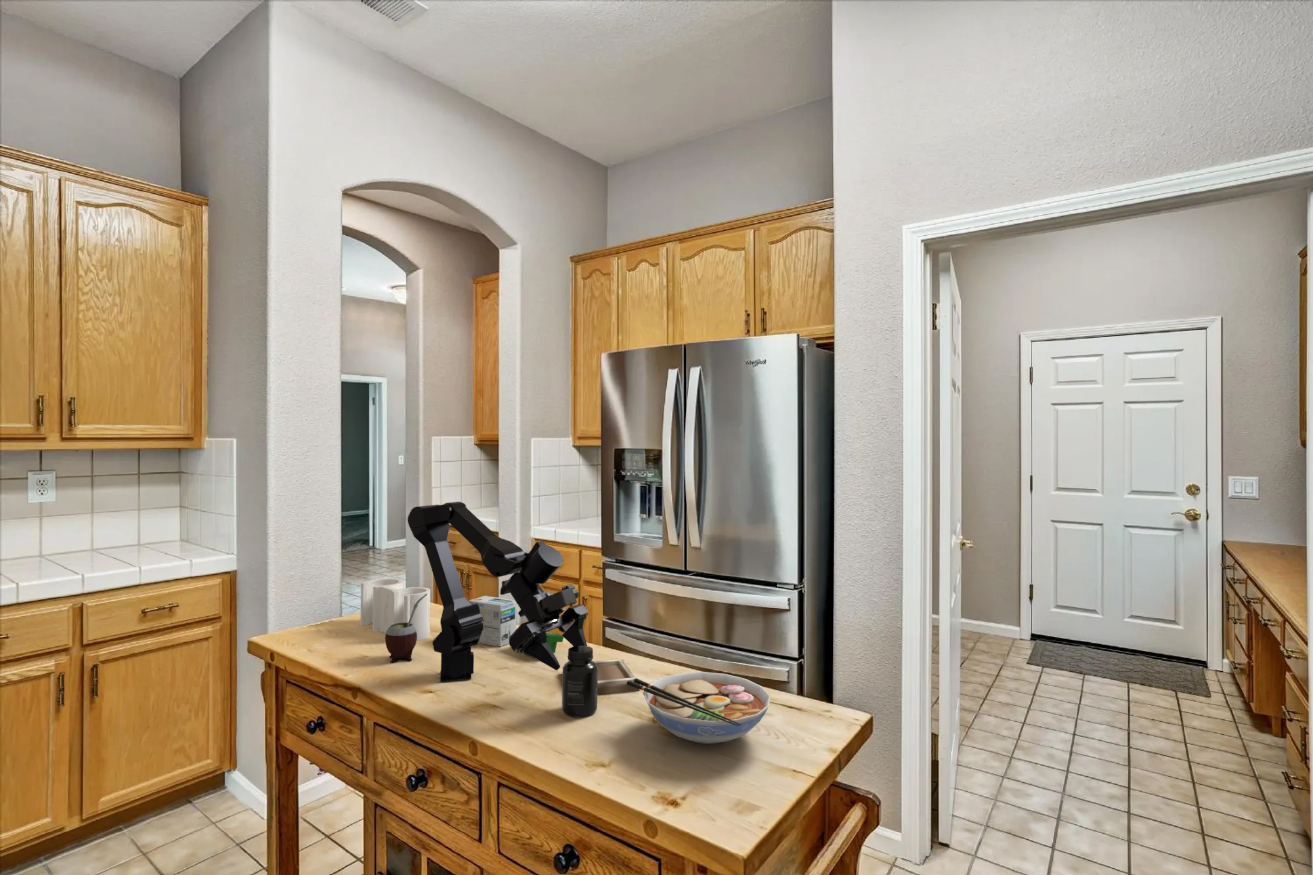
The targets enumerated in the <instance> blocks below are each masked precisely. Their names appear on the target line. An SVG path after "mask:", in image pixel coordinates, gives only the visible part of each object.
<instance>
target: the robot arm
mask: <svg viewBox="0 0 1313 875" xmlns="http://www.w3.org/2000/svg"><path fill="white" fill-rule="evenodd" d="M407 524H408V527H409V529H410V531H411V533H412V535H413V537H414V539H416V540H417V541H418V542H419V544H421V545H423V547H424V549H425V553H426V556H427V558H428V563H429V565H430V568H431V571H432V575H433V578H434V581H435V584H436V588H437V590H438V591H437V592H438V594H439V597H440V600H441V605H442V613H441V617H440V623H439V624H440V628H441V631H440V632H439V633H438V634H437V636H436V637H435V638H434V639H433V640H432V647H433V651H434V652H436V653H439V654H440V656H441V657H440V673H439V674H440V675H439V682H441V683H444V682H455V681H467V680H469V681H470V680H472V675H473V674H474V671H475V670H474V669H475V668H474V667H475V666H474V664H475V660H474V659H475V653H474V651H472V647H474V646H478V645H479V643H478V642H479V639H480V636H481V634H482V630H483V622H482V621H484V619H483V617H482V616H481V613H480V608H479V606H478V604H477V603H476V604H471V603H470V602H469V601H468V600H467V598H466V595H465V592H464V589H463V585H462V582H461V580H460V576H459V574H458V573H459V572H458V570H457V567H456V564H455V561H454V558H453V555H452V552H451V548H450V545H449V542H448V535H449V531H450V527H453V528H454V529H455V530H456V532H458V533H459V534H460V535H461V537H463V538H464V539H465V540H466V541H467V542H468V543H469V545H470V544H471V545H472V547H473V548H475V549H476V551H477V552H479V554H480V558H481V563H482V564H483V566H484V567H485V568H486V570H487V571H488V573H489V574H490V575H491V576H493V577H494V578H499V577H504V576H505V577H506V576H509V575H511V576H510V577H509V578H508V579H507V580H506V579H505V580H503V581H501V588H500V591H499V594H500V595H501V596H504V595H506V594H507V595H508V594H510V595H511V597H512V598H513V600H515V601H516V605H517V606H518V607H519V611H518V612H517V614H518V616H519V617H520V618H522V617H525V618H526V620H527V621H525V622H522V623H521V624H520V625H519V626H518V627H516V630H515V631H514V633H513V634H512V635H511V636H510V637H509V643H508V645H509V647H510V648H511V649H512V651H513V653H515V652H519V653H520V654H521V655H522V654H525V655H527V656H529V657H532V658H533V659H535V660H537V661H538V662H541V663H542V664H545V665H546V666H548V667H550V668H551V669H553V670H554V671H558V670H560V668H561V665H560V663H559V661H558V659H557V657H556V656H555V655H556V654H555V653H553V652H552V650H551V648H550V647H549V645H548V643H547V641H546V632H547V633H549V632H550V631H553V630H555V629H558V630H559V632H562V633H563V634H561V635H562V636H563V637H564V638H563V639H565V640H566V641H567V642H568V643H569V644H570V645H571V647H574V646H588V643H587V641H586V637H585V631H584V624H585V621H586V620H587V615H588V614H589V611H588V609H586V607H585V605H583V604H578V600H577V599H578V598H579V594H580V592H579V590H578V589H577V588H576V587H575V585H574V584H573V583H569V584H566V585H564V586H561V590H560V591H556V592H555V593H552V592H551V591H550V590H548V591H545V590H544V589H543V588H542V587H541V585H542V584H543V585H544V584H545V583H546V584H547V582H548V581H549V580H550V579H551V577H552V576H553V575H554V574H555V573H556V572H557V571H558V570H559V568H560V567H561V566H562V565H563V563H564V558H563V555H562V554H561V552H560V551H559V550H557V549H556V548H554V547H553V546H551V545H548V544H546V543H545V541H544V540H540V541H536V542H535V543H534V544H533V545H532V548H531V549H530V551H529V552H526V551H524V550H523V548H522V547H520V546H518V544H515V543H514V542H512V541H510V540H507V539H505V538H502V537H499V536H498V535H497V534H495V533H494V532H493V531H492V530H491V529H490V528H489V527H488V526H487V525H485V524H484V523H483V521H482V520H480V519H479V518H478V517H477V516H476V515H475V514H474V513H473V512H472V511H471V510H469V509H468V507H467V505H466V503H464V502H462V501H453V502H451V501H450V502H445V503H443V504H431V505H429V504H428V505H419V506H414V507H412V508H411V510H410V512H409V514H408V516H407ZM450 525H451V526H450ZM575 604H576V605H575ZM570 605H573V606H570ZM568 606H570V607H568ZM565 607H568V608H567V609H565ZM518 650H520V651H518Z"/></svg>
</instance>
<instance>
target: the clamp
mask: <svg viewBox="0 0 1313 875" xmlns="http://www.w3.org/2000/svg"><path fill="white" fill-rule="evenodd" d="M562 635H563V634H559V633H554V632H553V633H552V632H546V641H547V643H548V645H549V647H550V648H551V650H552V652H553V653H554V654H555V653H556V649H557V644H558V643H563V642H564V639H565V638H564V637H563V636H562ZM519 651H520V650H518V651H517V652H519Z"/></svg>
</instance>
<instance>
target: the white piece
mask: <svg viewBox="0 0 1313 875" xmlns="http://www.w3.org/2000/svg"><path fill="white" fill-rule="evenodd" d="M425 594H427V595H426V596H425V597H424V598H423V599H422V600H421V601H420V602H419V603H418V606H417V608H416V610H415V612H414V615H413V618H412V620H411V623H412V624H413V625H414V626H415V628H416V632H417V641H418V642H419V641H422V640H425V639H427V638H429V637H430V633H431V632H430V628H431V627H430V626H431V624H430V623H431V589H430V588H428V587H422V586H421V587H419V586H418V587H417V586H415V587H413V586H412V587H411V586H410V587H404V580H403V579H400V578H393V577H392V578H385V577H384V578H378V579H376V578H374V579H372V580H366V581H362V582H361V583H360V624H359V625H360V627H365V626H366V627H367V626H369V625H371V624H372V632H381V633H385V634H386V631H387V629H388V628H389V627H390V626H391V625H392V624H396V623H408V622H409V619H410V617H411V614H412V611H413V608H414V605H415V604H416V602H417V601H418V600H419V599H420V598H421V597H423V596H424V595H425ZM417 641H416V642H417Z"/></svg>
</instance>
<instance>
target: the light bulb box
mask: <svg viewBox="0 0 1313 875" xmlns="http://www.w3.org/2000/svg"><path fill="white" fill-rule="evenodd" d="M468 602H470V603H471V604H476V603H477V604H478V606H479V608H480V613H481V616H482V617H483V619H484V621H482V622H483V630H482V634H481V636H480V639H479V642H478V644H482V645H487V646H494V647H498V646H501V647H503V645H504V646H506V645H508V644H509V637H510V636H511V635H512V634H513V633H514V631H515V630H516V629H517V603H516V601H515V600H514V599H511V598H505V597H504V598H502V597H496V596H495V597H494V596H489V595H482V596H480V597H477V598H472V599H469V601H468ZM507 643H508V644H507Z"/></svg>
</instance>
